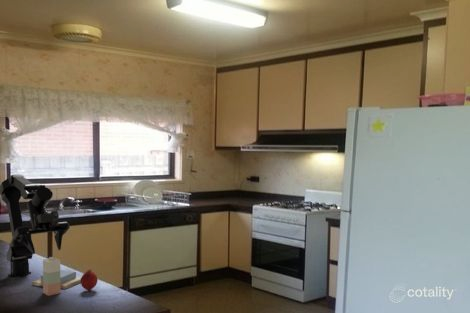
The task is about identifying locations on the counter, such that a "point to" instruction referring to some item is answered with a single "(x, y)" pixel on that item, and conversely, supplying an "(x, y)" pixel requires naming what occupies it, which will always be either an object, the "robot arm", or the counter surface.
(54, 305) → the counter surface
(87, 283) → the onion
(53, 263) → the brick column
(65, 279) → the base brick
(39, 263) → the counter surface
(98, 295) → the counter surface
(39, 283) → the board
